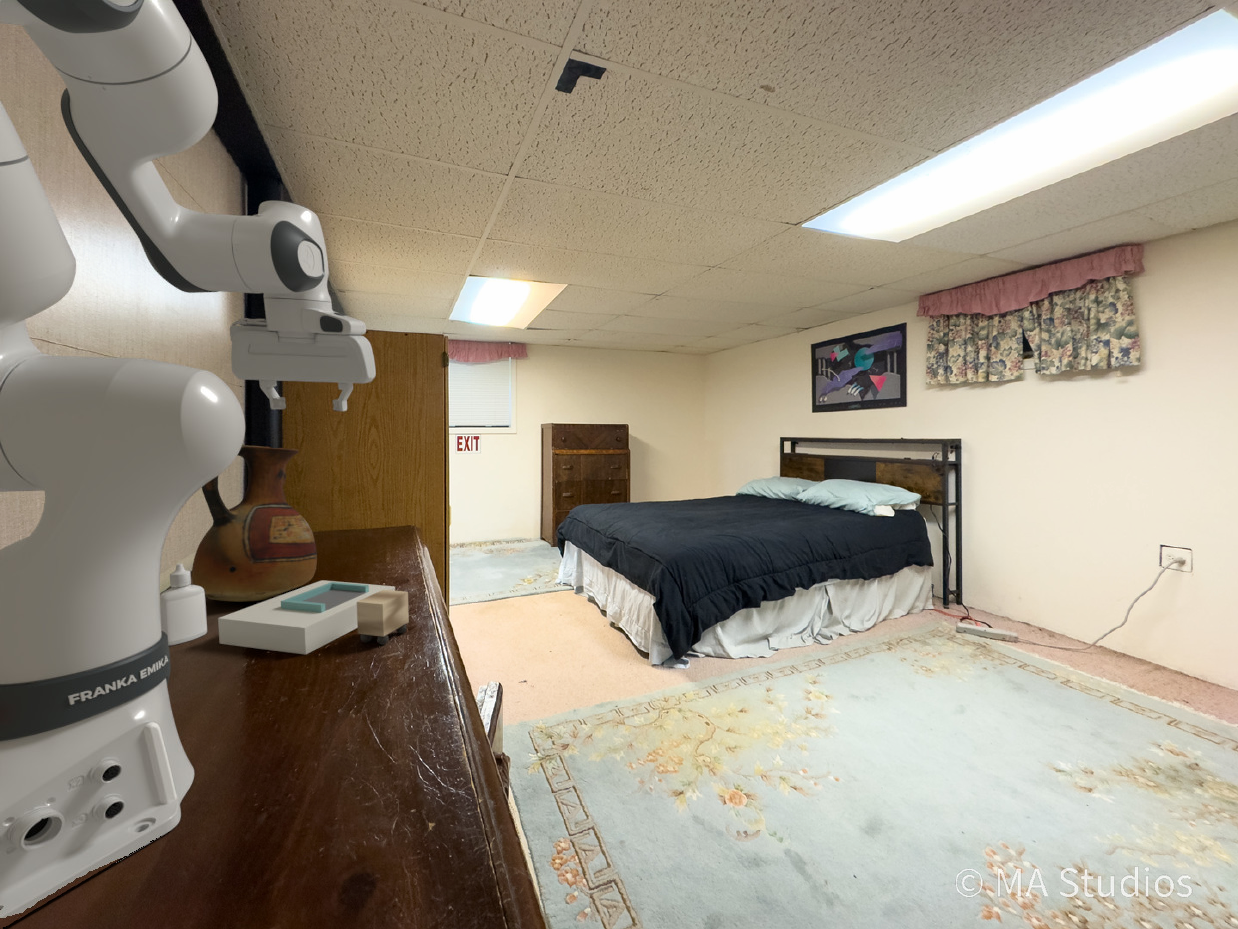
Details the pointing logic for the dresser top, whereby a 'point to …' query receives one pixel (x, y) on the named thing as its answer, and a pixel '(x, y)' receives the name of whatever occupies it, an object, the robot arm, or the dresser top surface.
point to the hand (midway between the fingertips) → (309, 409)
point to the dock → (298, 618)
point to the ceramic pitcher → (255, 536)
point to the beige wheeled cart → (382, 615)
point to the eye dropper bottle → (183, 608)
